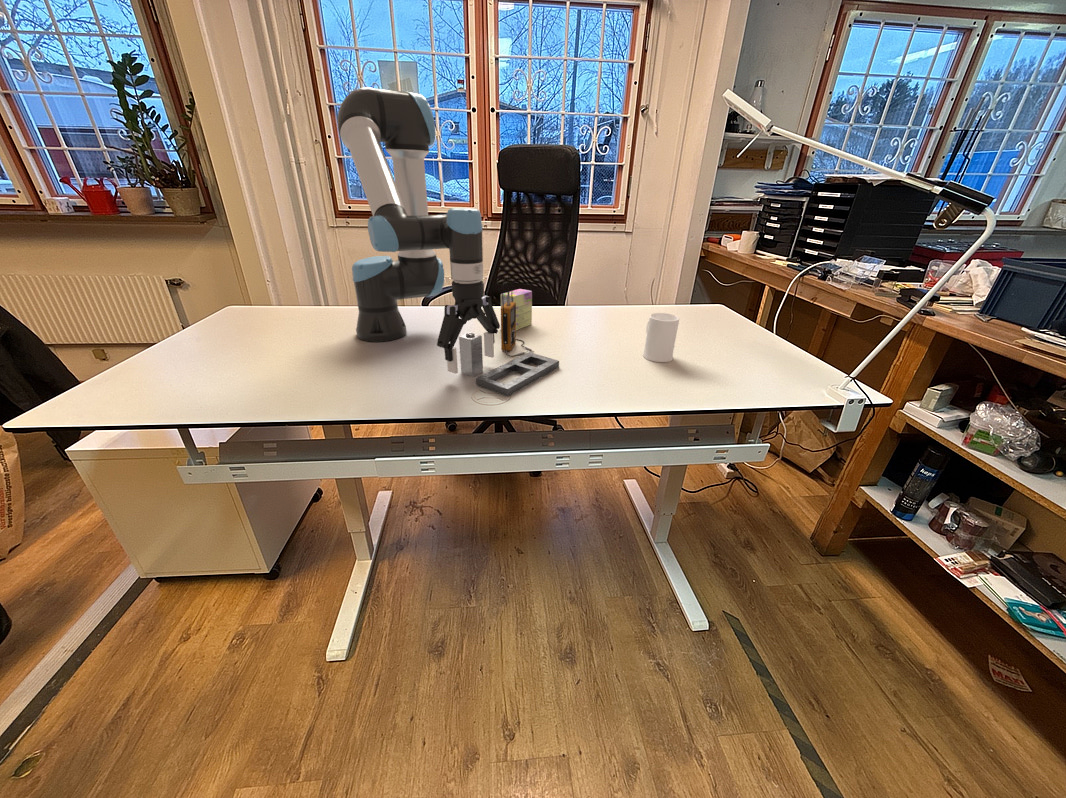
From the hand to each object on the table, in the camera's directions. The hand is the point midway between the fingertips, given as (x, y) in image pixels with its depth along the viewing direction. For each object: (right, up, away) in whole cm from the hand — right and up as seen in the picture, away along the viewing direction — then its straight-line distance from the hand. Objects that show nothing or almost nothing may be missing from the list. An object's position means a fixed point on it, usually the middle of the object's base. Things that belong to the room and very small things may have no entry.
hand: (471, 363), depth 109 cm
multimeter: (+12, +6, +18) cm, 22 cm away
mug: (+52, +4, +15) cm, 54 cm away
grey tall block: (0, -2, +1) cm, 2 cm away
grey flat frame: (+12, -3, 0) cm, 13 cm away
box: (+10, +16, +36) cm, 41 cm away
